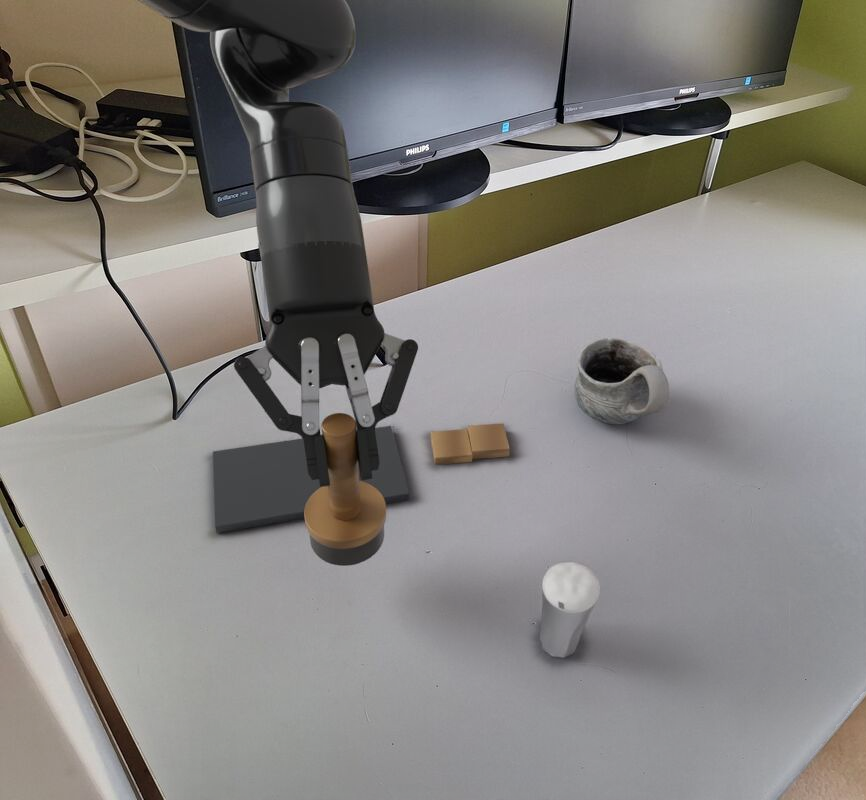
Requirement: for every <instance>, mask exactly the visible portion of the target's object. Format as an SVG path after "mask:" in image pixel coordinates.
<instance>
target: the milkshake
mask: <svg viewBox="0 0 866 800" xmlns="http://www.w3.org/2000/svg"><path fill="white" fill-rule="evenodd" d="M541 585H542V596H541V597H542V599H541V601H542V602H541V616H540V617H541V618H540V633H539V640H540V643H541V646H542V650H543V651H544V652H546V653H547V654H548V655H550V656H551V657H553V658H561V659H565V658H566V657H569V656H571V655H572V654H574V653H575V652H576V649H577V646H578V644H579V642H580V639H581V637H582V633H583V631H584V629H585V626H586V624H587V622H588V620H589V618H590V616H591V614H592V612H593V610H594V608H595V606H596V603H597V601H598V598H599V596H600V591H601V588H600V587H601V585H600V581H599V579H598V578H597V576H596V575H595V574H594V573H593V571H592V570H591V569H590V568H589V567H587V566H584V565H582V564H579V563H577V562H572V561H571V562H569V561H567V562H560V563H555V564H554V565H552V566H551V567H550V568H549V569H548V570H547V571H546V573H545V574H544V576H543V579H542V584H541Z"/></svg>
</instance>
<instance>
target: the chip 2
mask: <svg viewBox="0 0 866 800" xmlns="http://www.w3.org/2000/svg"><path fill="white" fill-rule="evenodd" d="M466 429H467V430H468V435H469V440H470V445H471V449H472V454H473V457H472V460H480V459H492V458H504V457H505V458H507V457H510V443H509V440H508V436H507V432H506V428H505V424H504V423H487V424H471V425H467V428H466Z"/></svg>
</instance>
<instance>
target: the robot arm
mask: <svg viewBox="0 0 866 800" xmlns="http://www.w3.org/2000/svg"><path fill="white" fill-rule="evenodd" d="M137 1H139V2H140V3H141V4H142V5H145V6H146V7H148V8H150V9H151V10H153V11H154V12H156V13H158V14H160V16H163V17H164V18H166V19H167V20H169V21H171V22H172V23H174V24H176V25H177V26H179V27H182V28H184V29H186V30H189V31H192V32H196V33H197V32H198V33H209V44H210V50H211V54H212V58H213V60H214V63H215V65H216V68H217V70H218V73H219V76H220V77H221V79H222V81H223V84H224V86H225V88H226V90H227V93H228V95H229V98H230V100H231V103H232V105H233V107H234V110H235V112H236V115H237V117H238V119H239V122H240V124H241V127H242V129H243V131H244V134H245V136H246V139H247V143H248V146H249V157H250V164H251V170H252V178H253V185H254V192H255V200H256V201H255V204H256V206H255V220H256V221H255V222H256V224H255V225H256V233H257V241H258V243H257V244H258V247H257V249H258V252H259V254H260V259H261V260H260V261H261V269H262V276H263V277H262V278H263V283H264V290H265V298H266V305H267V312H268V318H269V328H268V332H267V335H266V336H265V342H264V343H265V344H264V346H262V347H261V348H259V349H258V350H256V351H254V352H253V353H251V354H249V355H248V356H240V357H237V358H236V359H235V360H234V362H233V368H234V370H235V371H236V374H237V375H238V376H239V377H240V379H241V380H242V381H243V383H244V385H245V386H246V387H247V388H248V390H249V391H250V392H251V394H252V395H253V396H254V399H256V401H257V402H258V404H259V405H260V406H261V408H262V409H263V411H264V412H265V413H266V415H267V416H268V417H269V419H270V420H271V422H272V423H273V424H274V426H275V427H276V428H277V429H278V430H279V431H281V432H282V431H283V432H288V433H293V434H297V435H299V436H300V437H301V439H303V441H304V448H305V455H306V463H307V470H308V474H309V476H310V478H311V479H312V480H316V479H319V485H320V487H325V486H330V479H329V472H328V465H327V458H326V451H325V443H324V436H323V435H322V434H321V429H320V428H321V427H320V389H323V388H326V387H328V386H330V385H336V386H344V387H345V390H346V394H347V397H348V400H349V403H350V406H351V410H352V414H353V418H354V420H355V422H356V438H357V455H358V464H359V471H360V477H361V480H369V479H372V471H373V470H378V467H379V463H380V462H379V455H378V448H377V441H376V434H375V428H377V427H376V426H377V425H378V424H379V422H381V421H382V420H384V419H386V418H388V417H390V416H393V415H395V414H396V413H397V411H398V409H399V407H400V403H401V401H402V397H403V394H404V392H405V388H406V386H407V383H408V381H409V377H410V374H411V371H412V369H413V366H414V363H415V360H416V356H417V354H418V351H419V344H418V343H417V341H416V340H415V339H410V338H409V339H408V338H407V339H402V338H399V337H397V336H393V335H391V334H389V333H385V329H384V327H383V324H382V323H381V322H380V321H379V319H378V317H377V315H376V312H375V306H374V300H373V293H372V285H371V278H370V271H369V265H368V258H367V257H368V256H367V250H366V245H365V237H364V230H363V223H362V218H361V213H360V210H359V206H358V202H357V199H356V195H355V190H354V186H353V179H352V178H353V177H352V172H351V165H350V158H349V157H350V156H349V149H348V143H347V137H346V131H345V128H344V125H343V122H342V120H341V118H340V117H339V115H338V114H337V113H336V112H335V111H334V110H333V109H331V108H329V107H327V106H325V105H323V104H320V103H317V102H311V101H294V100H293V101H290V89H292V88H296V87H297V86H300V85H303V84H305V83H309V82H311V81H313V80H316V79H319V78H322V77H324V76H328V75H331V74H333V73H334V72H337V71H338V70H340V69H342V68H343V67H344V66H345V65H346V64H348V62H349V61H350V59H351V57H352V55H353V53H354V51H355V48H356V41H357V30H356V22H355V19H354V16H353V13H352V10H351V9H350V6H349V5H348V3H347V1H346V0H137ZM380 348H382V349H383V350H384V352H385V356H384V360H385V363H386V364H387V365H388V366H390V367H391V369H390V372H389V374H388V378H387V380H386V383H385V386H384V389H383V392H382V395H381V398H380V400H379V402H378V403H376V404H374V405H372V403H371V402H372V401H371V398H370V395H369V389H368V385H367V381H366V377H365V375H366V373H367V371H368V369H369V368H370V365H372V362H373V360H374V359H375V357H376V354H377V353H378V352H379V350H380ZM273 359H274V361H275V362H277V363H278V365H279V366H280V367H281V368H282V369H283V370H284V371H285V372H286V373H287V374H288V375H289V376H290V377H291V378H292V379H293V380H294V381H295V382H296V383H297V384H298V385H300V396H301V397H300V405H301V406H300V408H301V411H300V412H301V413H300V414H301V415H297V414H292V413H289V412H288V410H287V409H286V408H285V406H284V405H283V403H282V402H281V401H280V399H279V398H278V396H277V395H276V394H275V392H274V391H273V389H272V387H270V385H269V384H268V383H267V381H268V380H270V379H271V377H272V370H271V368H270V362H271V361H272V360H273Z"/></svg>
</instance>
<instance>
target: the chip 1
mask: <svg viewBox="0 0 866 800" xmlns="http://www.w3.org/2000/svg"><path fill="white" fill-rule="evenodd" d="M430 443H431V445H430V446H431V450H432V457H433V464H434V465H435V466H436V465H450V464H462V463H472V462H473V459H472V457H473V454H472V449H471V445H470V440H469V435H468V430H467V428H463V429H451V430H438V431H430Z"/></svg>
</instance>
